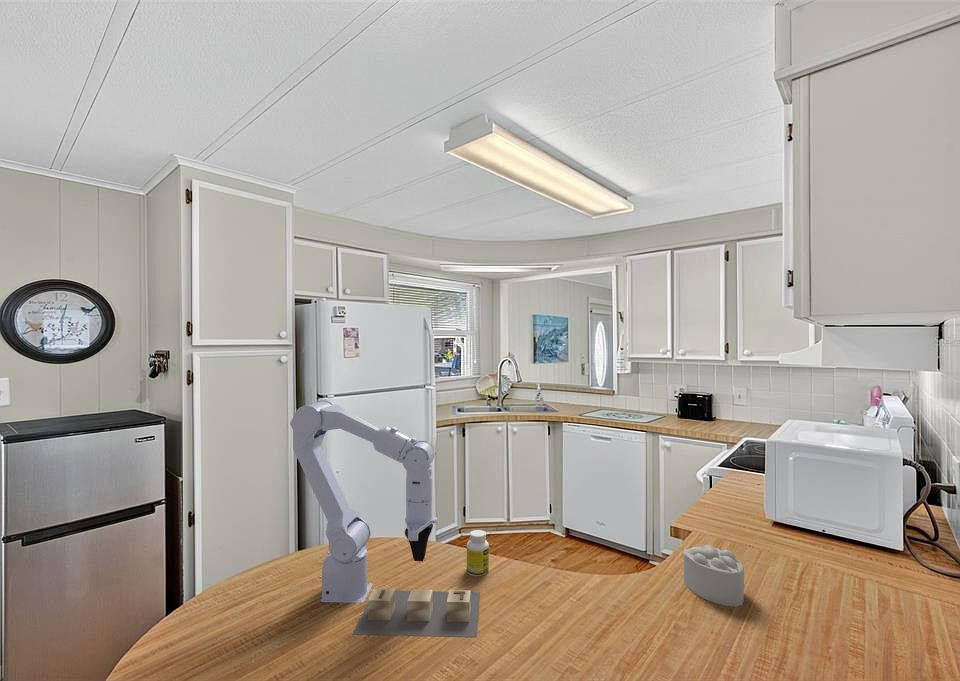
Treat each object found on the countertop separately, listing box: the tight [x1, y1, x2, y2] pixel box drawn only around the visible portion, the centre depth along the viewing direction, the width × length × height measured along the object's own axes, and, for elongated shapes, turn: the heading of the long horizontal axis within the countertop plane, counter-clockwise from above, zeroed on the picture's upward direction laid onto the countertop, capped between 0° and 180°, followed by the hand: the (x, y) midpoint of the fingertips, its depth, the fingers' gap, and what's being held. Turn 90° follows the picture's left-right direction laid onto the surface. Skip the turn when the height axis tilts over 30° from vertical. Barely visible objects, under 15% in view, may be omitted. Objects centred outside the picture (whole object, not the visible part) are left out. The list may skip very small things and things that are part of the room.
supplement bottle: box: [466, 529, 490, 577], centre depth 118 cm, size 5×5×10 cm
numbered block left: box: [367, 588, 396, 620], centre depth 100 cm, size 4×4×4 cm
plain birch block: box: [407, 588, 434, 621], centre depth 99 cm, size 4×4×4 cm
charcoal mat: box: [352, 590, 481, 638], centre depth 100 cm, size 24×16×1 cm, turn 88°
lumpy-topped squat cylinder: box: [682, 544, 745, 607], centre depth 110 cm, size 10×13×9 cm
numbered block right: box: [447, 589, 472, 622], centre depth 99 cm, size 4×4×4 cm
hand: (419, 559), depth 106 cm, fingers closed
